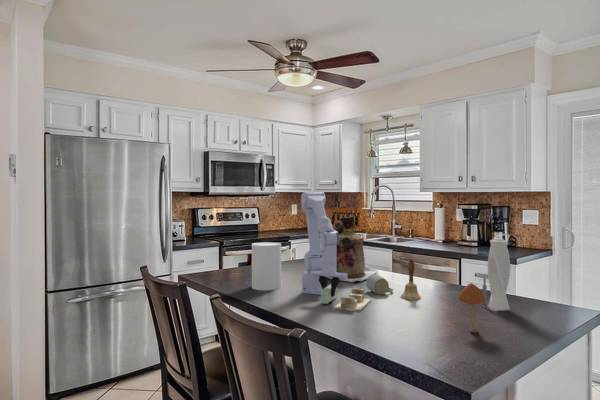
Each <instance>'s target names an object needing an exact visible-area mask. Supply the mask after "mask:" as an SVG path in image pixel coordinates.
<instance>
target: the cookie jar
mask: <svg viewBox="0 0 600 400" xmlns="http://www.w3.org/2000/svg"><path fill="white" fill-rule="evenodd" d="M354 219H355V215H352V216H346V217H345V216H343V217H340V218H339V220H338V221H335V223H334V228H335V229H336V231H337V232H338V235H339V243H338V245H337V246H336V272H338V273H345V274H348V279H346V280H345V279H340V280H339V281H341V282H342V281H343V282H349V283H354V282H363V281H364V280H367V278H368V277H369V276H370V275H372V274H377V275H378V271H370V270H369V271H367V270H366V271H365V266H366V260H365V252H364V244H363V242H364V241H365V237H364V236H363V235H361V236H360V235H358V234H357V233H356V232H355V231H354V229H355V226H356V223H355V220H354ZM331 279H332V278H329V280H331Z"/></svg>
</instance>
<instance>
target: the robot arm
mask: <svg viewBox="0 0 600 400" xmlns="http://www.w3.org/2000/svg"><path fill="white" fill-rule="evenodd" d="M326 198H327V197H326V194H325V192H324V191H303V192H302V193H301V198H300V203H301V205H300V206H301V211H302V212H303V213H305V216H306V217H305V218H306V225H307V233H308V234H307V235H308V244H309V250H308V251H307V252H306V253H304V256H303V258H304V259H303V260H304V261H303V265H304V266H303V267H304V270H305V271H304V272H303V274H302V278H301V279H302V280H301V286H302V288H301V294H307V295H308V294H309V295H319V296H321V290H322V289H324V288H325V287H327V286H328V282H329V281H330V284H331V297H334V296H335V291H336V287H337V288H338V285H339V282H340V281H341V280H340V279H345V280H346V279H348V274H345V273H338V272H336V246H337V245H338V243H339V235H338V232H337V231H338V230H336V229H334V228H333V227H334V226H333V224H332V221H331V218H329V217H327V215H326V214H327V213H326V209H325V204H326V200H327V199H326ZM330 278H332V279H330Z"/></svg>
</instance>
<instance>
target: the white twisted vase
mask: <svg viewBox="0 0 600 400" xmlns="http://www.w3.org/2000/svg"><path fill="white" fill-rule="evenodd" d="M500 236H507V238H506V240H505V239H504V238H500ZM510 236H511V235H510V234H509V233H500V234H496V235H495V236H494V237H493V238H492V239H490V240H489V242H490V248H489V251H488V258H487V278H488V284H489V285H488V286H489V290H490V297H489V301H488V297H487V290H488V289H487V284H486V283H487V282H486V281H487V279H486V273H484V274H483V284H482V293H483V294H484V296H485V299H486V301H485V302H484V303H481V307H483V308H484V309H487V310H489V311H491V312H503V311H504V312H505V311H511V308H510V305H509V302H508V298H507V290H508V286H509V282H510V278H511V277H510V276H511V260H510V254H509V253H510V252H509V249H508V241H509V238H510Z"/></svg>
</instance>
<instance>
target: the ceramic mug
mask: <svg viewBox="0 0 600 400" xmlns="http://www.w3.org/2000/svg"><path fill="white" fill-rule="evenodd" d="M365 282H366V283H365V284H366V288H367V289H368V290H369V291H371V292H372V293H375V294H376V295H380V296H382V295H385V294H386V293H387V292H389V293H393V292H394V289H393V288H391V287H390V285H389V282H388V280H387V279H385V277H383V276H381V275H379V274H378V273H377V274H372V275H370V276H369V277H368V278H367V279H366V281H365Z"/></svg>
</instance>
